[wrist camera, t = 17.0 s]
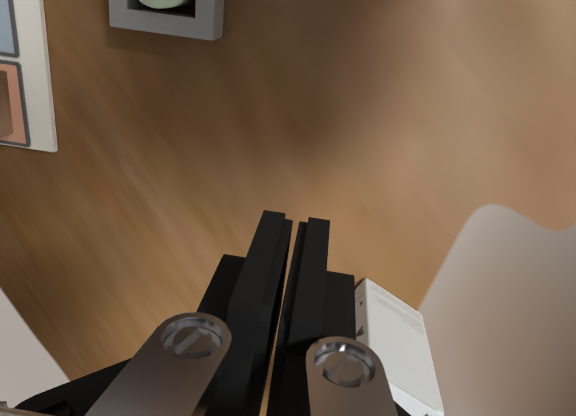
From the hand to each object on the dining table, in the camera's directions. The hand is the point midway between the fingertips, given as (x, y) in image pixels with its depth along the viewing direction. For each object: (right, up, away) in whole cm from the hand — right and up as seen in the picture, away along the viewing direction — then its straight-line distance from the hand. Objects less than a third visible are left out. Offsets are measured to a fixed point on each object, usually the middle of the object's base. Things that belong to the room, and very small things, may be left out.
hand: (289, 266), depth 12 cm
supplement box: (+8, -10, +36) cm, 38 cm away
